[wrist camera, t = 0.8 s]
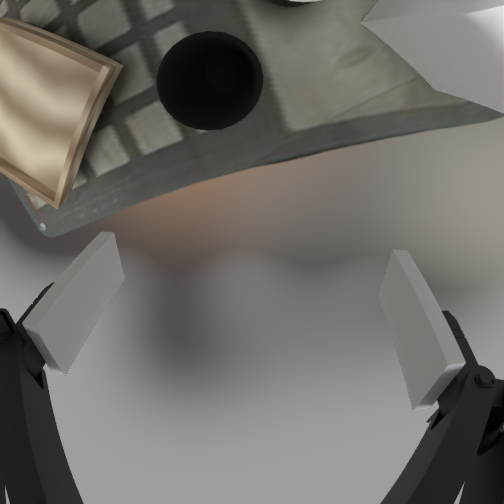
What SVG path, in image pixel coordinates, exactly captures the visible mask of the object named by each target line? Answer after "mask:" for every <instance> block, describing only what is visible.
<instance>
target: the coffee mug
mask: <svg viewBox="0 0 504 504" xmlns="http://www.w3.org/2000/svg"><path fill="white" fill-rule="evenodd" d="M269 1H271V2H273V3H275V4H277V5H280V6H285V7H296V6H301V5H304V4H308V3H312V2H316V1H320V0H269Z"/></svg>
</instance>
